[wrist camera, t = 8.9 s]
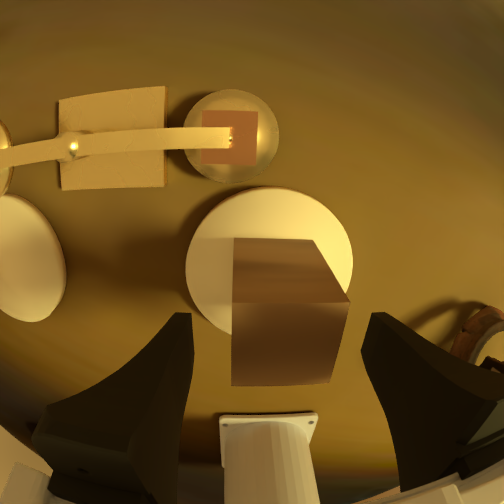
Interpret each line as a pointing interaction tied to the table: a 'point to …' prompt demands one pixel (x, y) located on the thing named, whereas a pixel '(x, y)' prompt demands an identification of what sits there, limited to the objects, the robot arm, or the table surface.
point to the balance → (149, 139)
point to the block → (284, 313)
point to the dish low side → (258, 226)
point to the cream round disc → (29, 261)
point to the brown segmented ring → (479, 338)
